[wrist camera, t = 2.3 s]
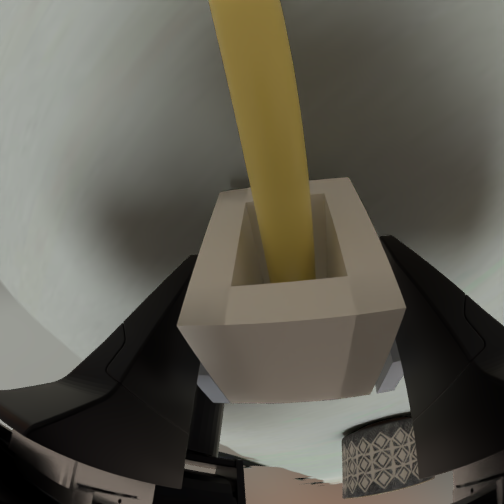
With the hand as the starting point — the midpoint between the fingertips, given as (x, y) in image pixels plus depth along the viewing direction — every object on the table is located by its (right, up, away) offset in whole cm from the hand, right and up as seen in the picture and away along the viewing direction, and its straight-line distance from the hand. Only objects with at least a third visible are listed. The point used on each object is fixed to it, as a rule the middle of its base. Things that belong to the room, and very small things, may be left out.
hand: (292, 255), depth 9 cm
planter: (+17, -24, +22) cm, 37 cm away
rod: (-1, +2, -3) cm, 4 cm away
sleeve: (0, +1, +2) cm, 2 cm away
